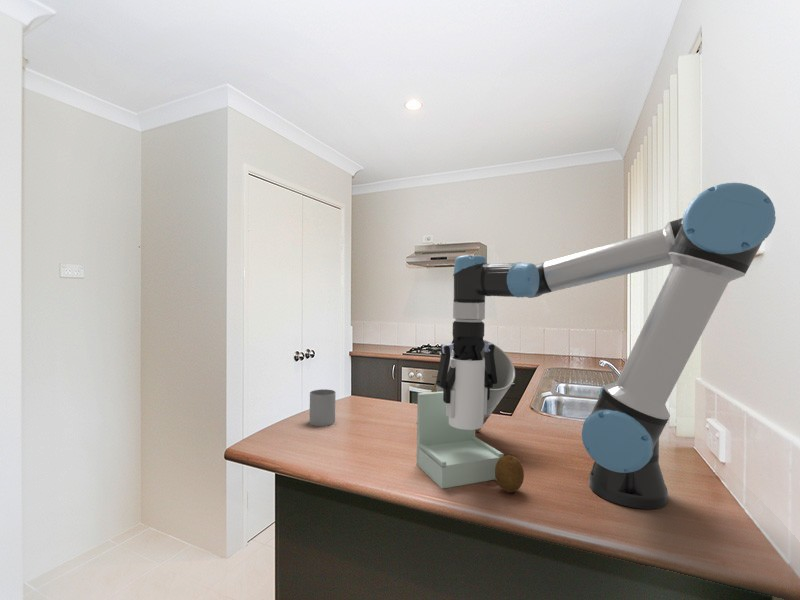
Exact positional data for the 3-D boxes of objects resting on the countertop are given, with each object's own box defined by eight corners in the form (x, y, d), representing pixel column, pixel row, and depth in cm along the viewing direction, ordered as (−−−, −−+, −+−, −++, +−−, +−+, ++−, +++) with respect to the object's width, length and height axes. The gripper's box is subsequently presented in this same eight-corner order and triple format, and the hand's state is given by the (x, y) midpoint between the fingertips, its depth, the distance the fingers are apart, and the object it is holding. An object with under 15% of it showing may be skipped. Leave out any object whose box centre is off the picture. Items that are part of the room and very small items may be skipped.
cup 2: (483, 431, 94) (485, 361, 94) (447, 428, 96) (448, 359, 96) (483, 420, 102) (484, 356, 102) (450, 418, 104) (451, 354, 104)
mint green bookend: (502, 478, 97) (504, 401, 97) (441, 488, 91) (443, 407, 91) (471, 456, 110) (472, 389, 110) (416, 464, 104) (417, 393, 104)
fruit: (488, 491, 91) (489, 454, 90) (504, 482, 95) (504, 447, 95) (514, 501, 86) (515, 463, 86) (529, 491, 90) (529, 455, 90)
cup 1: (308, 419, 140) (309, 390, 140) (332, 417, 143) (333, 388, 143) (310, 427, 132) (311, 395, 132) (336, 425, 135) (337, 394, 135)
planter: (439, 380, 141) (466, 328, 125) (488, 410, 137) (522, 360, 121) (414, 418, 127) (441, 364, 111) (468, 453, 123) (504, 402, 107)
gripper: (496, 319, 106) (494, 407, 106) (422, 319, 99) (420, 414, 99) (514, 321, 99) (512, 415, 99) (436, 321, 92) (433, 423, 92)
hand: (466, 414), depth 99 cm, fingers closed on cup 2, 8 cm apart
